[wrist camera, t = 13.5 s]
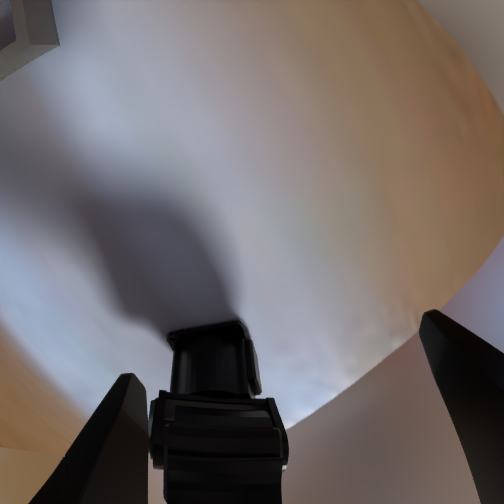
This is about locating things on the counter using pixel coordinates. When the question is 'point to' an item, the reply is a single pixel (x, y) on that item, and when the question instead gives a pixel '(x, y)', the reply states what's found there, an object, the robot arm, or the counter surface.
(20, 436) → the counter surface
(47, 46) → the box
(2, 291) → the counter surface
